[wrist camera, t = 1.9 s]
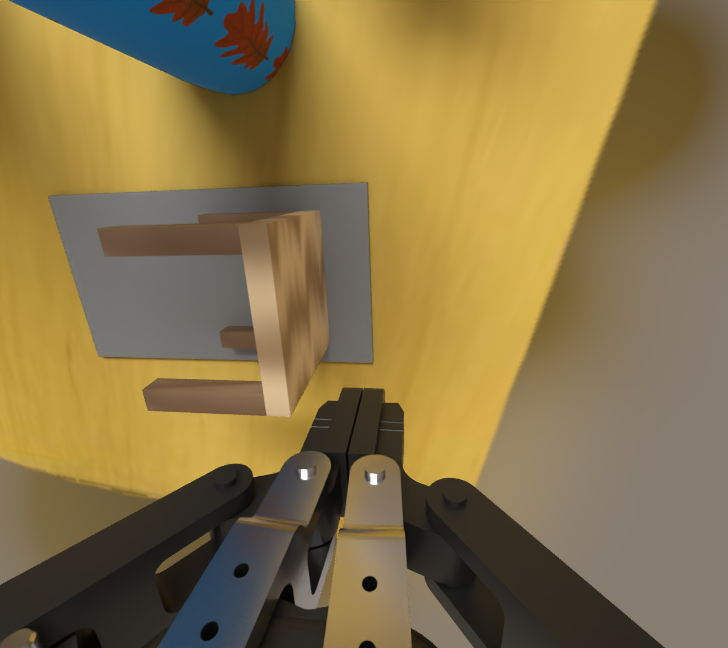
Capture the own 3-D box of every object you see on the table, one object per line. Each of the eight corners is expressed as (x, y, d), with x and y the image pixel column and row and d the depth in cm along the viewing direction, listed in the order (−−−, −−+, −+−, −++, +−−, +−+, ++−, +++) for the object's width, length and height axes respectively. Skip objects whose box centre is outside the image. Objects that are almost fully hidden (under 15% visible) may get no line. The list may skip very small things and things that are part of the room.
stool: (207, 213, 32) (96, 228, 21) (320, 210, 31) (266, 223, 19) (230, 341, 36) (148, 410, 25) (330, 342, 35) (290, 416, 24)
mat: (51, 195, 34) (47, 195, 33) (367, 182, 30) (367, 182, 29) (101, 355, 39) (98, 356, 39) (373, 361, 35) (372, 362, 35)
